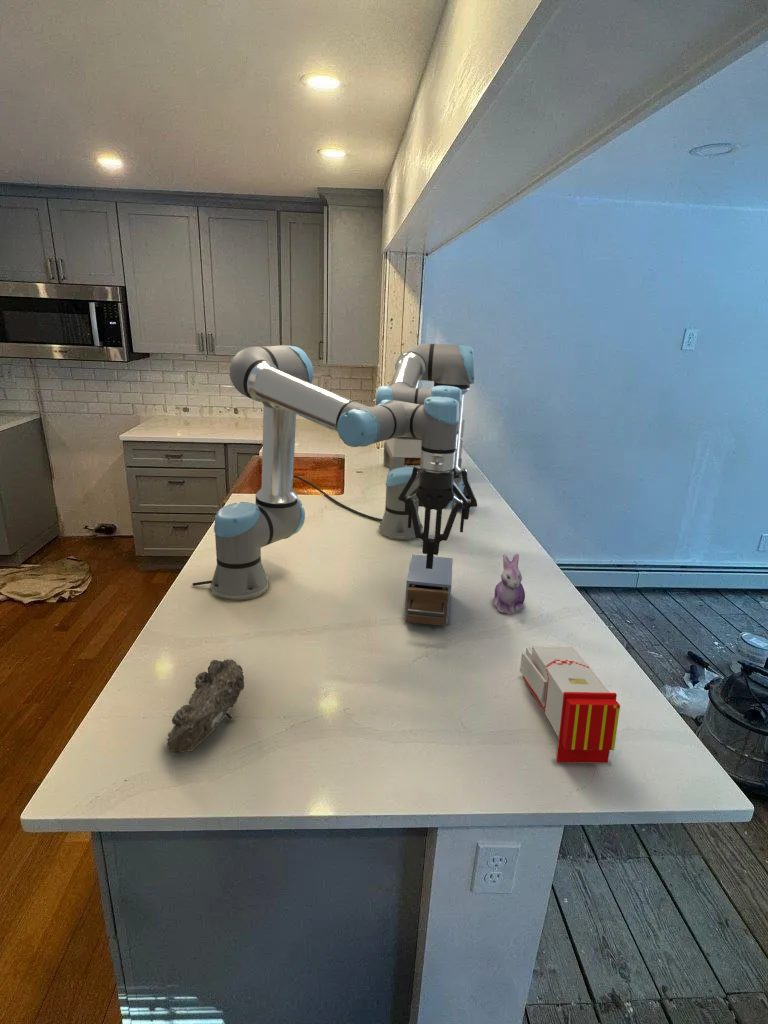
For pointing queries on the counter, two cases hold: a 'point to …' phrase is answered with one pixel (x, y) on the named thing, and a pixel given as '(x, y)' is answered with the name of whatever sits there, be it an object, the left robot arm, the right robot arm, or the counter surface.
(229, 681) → the fossil
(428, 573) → the cabinet
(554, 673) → the toy
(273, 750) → the counter surface
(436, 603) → the drawer
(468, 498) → the figurine character
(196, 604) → the counter surface
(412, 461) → the grey slatted crate
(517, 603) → the figurine
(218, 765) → the counter surface
